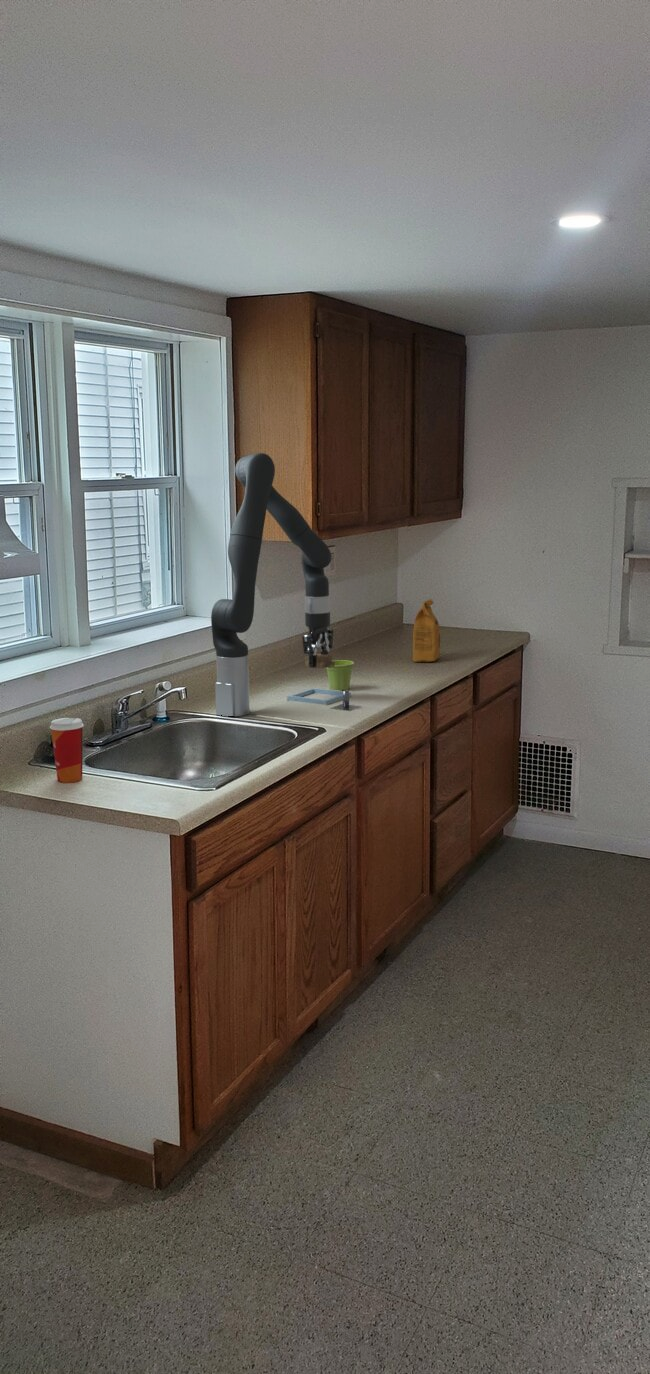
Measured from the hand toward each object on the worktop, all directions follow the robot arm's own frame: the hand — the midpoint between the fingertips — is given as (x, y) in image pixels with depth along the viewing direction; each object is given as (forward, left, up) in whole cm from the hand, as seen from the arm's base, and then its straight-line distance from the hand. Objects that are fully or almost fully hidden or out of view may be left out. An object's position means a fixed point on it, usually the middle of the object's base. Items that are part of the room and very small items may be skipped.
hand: (318, 665), depth 335 cm
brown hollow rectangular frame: (0, 0, 0) cm, 0 cm away
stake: (-7, -14, -11) cm, 19 cm away
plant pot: (+18, +4, -11) cm, 21 cm away
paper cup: (-101, +3, -11) cm, 102 cm away
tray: (0, 0, -11) cm, 11 cm away
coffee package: (+78, +4, -11) cm, 79 cm away
